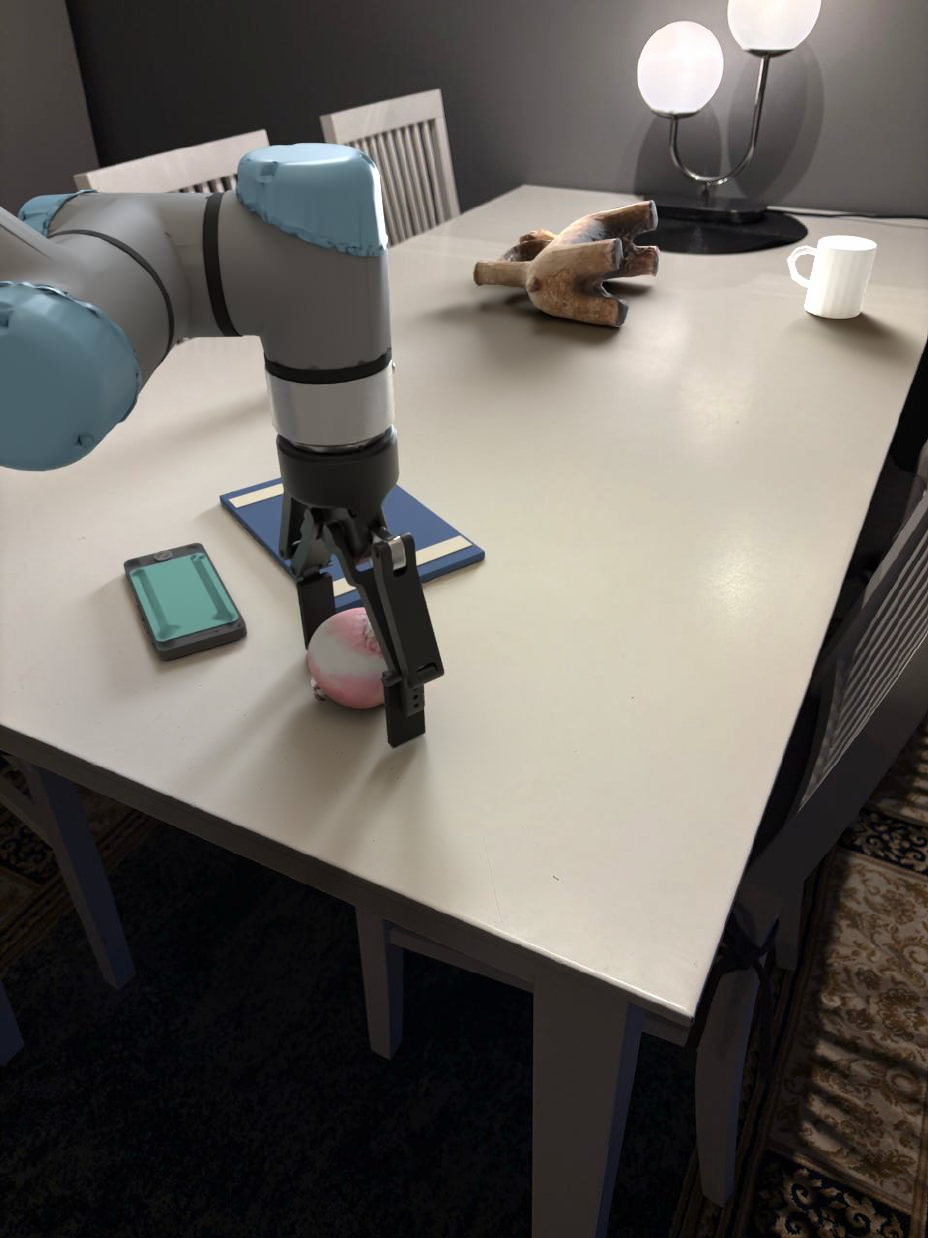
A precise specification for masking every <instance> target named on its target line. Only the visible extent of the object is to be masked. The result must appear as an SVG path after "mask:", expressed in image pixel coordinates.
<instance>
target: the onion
mask: <svg viewBox="0 0 928 1238" xmlns="http://www.w3.org/2000/svg"><path fill="white" fill-rule="evenodd" d="M306 652H307V653H306V660H307V663H308V669H309V671H310V673H311V676H312V677H310V683H311V686H312V688H313V691H314V692H313V695H314V698H315V700H316V702H317V703H318V704H323V703H325V701H328V699H327V698H329V699H331V700H332V701H333V702H335V703H336V704H339V705H341V706H342V707H343V706H344V707H349V708H352V709H360V710H364V709H371V708H372V709H373V708H374V707H376V706H379V705H385V702H384V690H383V683H382V681H381V678H383V677H382V672H384V671H387V670H388V668H387V665H386V662H385V660H384V657H383V655H382V652H381V649H380V647H379V644H378V642H377V639H376V637H375V634H374V631H373V629H372V626H371V624H370V621H369V618H368V616H367V613H366V611H365V608H364V607H358V608H354V609H350V610H346V611H344V612H341V613H338V614H336V615H334V616H332V617H331V618H329V619H328V620H326V621H325V622H323V623H322V624H321V625H320V626H319V627H318V629H317V630H316V631H315V633H314V635H313V636H312V639H311V641H310V643H309V646H308V650H306ZM318 690H320V691H322V692H323V693H324V694H325V696H327V698H325V697H324V696H322V695H320V694H319V693H318Z"/></svg>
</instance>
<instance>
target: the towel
mask: <svg viewBox="0 0 928 1238" xmlns="http://www.w3.org/2000/svg"><path fill="white" fill-rule="evenodd" d="M283 493H284V489H283V485H282V480H281V476H280V477H276V478H273V479H271V480H267V481H264V482H260V483H257V484H254V485H250V486H247V487H244V488H240V489H237V490H233V491H231V492H227V493H223V494H220V495H219V502H220V504H222V505H223V507H224V508H226V509H227V510H228V512H229V513H230V514H231V515H232V516H233V517H234V518H235V519H236V520H237V521H238V522H239V524H241V525H242V526H243V528H245V529H246V530H247V532H249V534H250V535H251V536H252V537H253V538H254V539H255V540H256V541H257V542H258V543H259V544H260V545H261V546H262V547H263V548H264V549H265V550H266V551H267V552H268V553H269V555H270V556H271V557H272V558H273V559H274V560H275V561H276V562H277V563H278V564H279V565H280V567H282V568H283V569H284V570H285V571H286V572H287V573H288V575H290V576H291V577H292V578H293V579H294V580H295V582H298V579H295V578H294V577H293V575H292V574H291V572H290V563H291V561H290V560H286V561H283V560H282V559H281V557H280V556H279V551H278V545H279V535H280V524H281V514H282V503H283ZM382 507H383V511H384V515H385V519H386V522H387V525H388V531H389V532H391V533H392V534H394V535H395V536H397V535H399V534H402V533H405V532H409V533H410V534H411V535H412V537H413V539H414V542H415V551H416V562H417V570H418V574H419V577H420V581H421V584H422V583H426V582H428V581H430V580H433V579H435V578H438V577H440V576H443V575H445V574H448V573H451V572H453V571H456V570H459V569H461V568H464V567H467V566H469V565H472V564H474V563H477V562H480V561H482V560H485V559H486V551H485V550H484V549H482V548H481V547H480V546H479V545H477V544H475V542H474V541H472V540H471V539H469V538H468V537H467V536H465V535H464V534H463V533H461V532H460V531H459V530H457V529H456V528H455V527H453V526H452V525H451V524H450V523H448V522H447V521H446V520H444V519H443V518H442V517H440V515H438V514H436V513H435V512H434V511H433V510H431V509H430V508H428V506H426V505H424V503H422V502H420V501H419V500H418V499H417V498H415V497H414V496H413V495H411V494H410V493H409V492H408V491H406V490H405V489H404V488H402V487H401V486H399V485H398V484H397V483H396V485H395V487H394V488H393V489H392V490H391V491H390V493H389V494H388V495H387V497H386V498H385V500H384V501H383V504H382ZM330 559H331V561H332V562H331V564H333V566H330V567H327V568H325V569H322V570H320V574H321V573H324V572H326V571H328V572H329V573H330V574H331V575H332V580H333V589H334V597H335V606H336V614H338V613H341V612H344V611H346V610H350V609H354V608H362V607H364V606H363V603H362V600H361V598H360V595H359V593H358V590H357V588H355V587H352V586H350V585H348V583H347V582H346V579H345V576H344V574H343V571H342V569H341V566H340V563H339V561H338V558H337V557H336V556H335V555H333V554H332V556H331V558H330ZM372 567H373V566H371V564H370V562H367V563H365V564H362V565H359V566H356V569H357V570H358V571H364V570H367V569H370V568H372Z"/></svg>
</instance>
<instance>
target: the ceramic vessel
mask: <svg viewBox="0 0 928 1238" xmlns="http://www.w3.org/2000/svg"><path fill="white" fill-rule="evenodd" d="M657 212H658V211H657V206H656V203H655V201H654V200H652V199H650V200H647V201H642V202H638V203H635V204H634V203H633V204H629V205H625V206H622V207H618V208H617V207H616V208H613V209H612V208H611V209H608V210H603V211H598V212H593V213H589V214H587V215H585V216H582V217H580V218H577V220H575V221H574V222H572V223H571V224H570V225H568V226H567V227H565V228H564V229H563V230H562V231H561V232H560V233H559V234H555V233H552V232H551V231H550V230H548V229H545V228H543V229H538V230H537V231H536V230H533V231H529V232H528V233H526V234H523V235H521V236H520V237H519V240H518V243H517V244H515V245H514V246H511V247H510V248H508V249H507V250H505V251H504V252H503V253H502V254H501V256H500V257H499V258H498V259H497V260H478V261H476V263H475V264H474V266H473V269H472V279H473V282H474V284H476V287H481V286H499V287H500V286H501V287H507V288H523V289H525V290H526V291H527V294H528V298H529V300H530V301H531V303H532V304H533V305H534V307H535V308H536V309H538V310H540V311H542V312H543V313H545V314H547V315H549V316H551V317H552V316H553V317H556V318H564V319H570V320H576V321H579V322H583V323H586V324H593V325H600V326H612V327H617V328H619V327H622V326H623V325H624V324H625V322H626V319H627V317H628V312H629V308H630V307H629V304H628V301H626V300H625V299H624V298H623V299H621V298H618V297H616V296H614V295H613V294H611V293H609V292H607V290H606V289H605V288H604V286H602V285H603V282H604V281H608V280H612V279H613V280H614V279H621V278H635V277H641V276H651V277H656V276H657V274H658V272H659V268H660V261H661V251H660V249H659V247H658V246H657V245H654V246H653V245H647V246H646V245H645V246H643V245H642V246H641V245H640V246H639V245H636V244H635V243H634V242H633V241H634V238H637V236H639V235H641V234H642V233H643V234H644V233H648V232H651V231H656V229H657V226H658V221H659V217H658V213H657Z"/></svg>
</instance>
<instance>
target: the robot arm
mask: <svg viewBox="0 0 928 1238" xmlns="http://www.w3.org/2000/svg"><path fill="white" fill-rule="evenodd" d="M236 169H237V170H236V173H237V182H236V184H235V187H234V188H235V189H228V190H226V191H225V192H224V191H223V192H222V191H219V192H216V191H215V192H106V191H98V189H80V190H78V191H76V192H75V193H64V194H63V193H62V194H45V195H39V196H35V197H33V198H31V199H29V200H28V201H27V202H25V203H24V205H23V206H22V207H21V208H20V210H19V212H18V215H17V216H15V215H14V214H13V213H11V212H10V211H8V210H7V209H5V208H3V206H0V467H3V468H5V469H9V470H10V469H11V470H16V471H22V472H47V471H48V472H49V471H55V470H59V469H62V468H66V467H69V466H71V465H74V464H75V463H78V462H79V461H81V460H82V459H84V458H85V457H87V456H88V455H90V453H92V452H93V451H94V450H95V448H96V447H98V445H100V443H102V441H103V440H104V439H105V438H106V437H107V436H108V434H110V433H111V432H112V430H114V429H115V427H116V426H117V425H118V424H121V423H123V422H125V421H126V420H127V419H128V417H129V416H130V414H131V413H132V412H133V410H134V409H135V407H136V405H137V403H138V399H139V395H140V393H141V392H142V390H143V389H144V387H145V386H146V384H147V382H148V381H149V380H150V378H151V377H152V375H153V374H154V372H155V371H156V370H157V369H158V367H159V366H160V365H161V364H162V363H163V362H164V361H165V359H166V358H167V357H168V355H169V354H170V352H171V351H172V350H173V348H174V346H176V344H177V343H178V341H179V340H180V339H185V338H187V339H188V338H189V339H190V338H193V339H195V338H243V337H245V336H247V337H249V336H254V337H259V339H260V343H261V346H262V351H263V353H262V354H263V359H264V360H263V362H264V364H263V368H264V377H265V383H266V389H267V391H266V392H267V397H268V406H269V411H270V419H271V425H272V427H273V429H274V430H275V432H276V433H277V434H276V438H275V445H276V451H277V459H278V465H279V472H280V473H279V474H280V477H281V480H282V485H283V489H284V493H283V503H282V514H281V524H280V535H279V545H278V551H279V556H280V557H281V559H282V560H283V561H286V560H290V561H291V563H290V572H291V574H292V575H293V577H294V578H295V579H298V582H297V581H295V587H296V592H297V600H298V601H297V602H298V608H299V614H300V621H301V629H302V635H303V639H304V640H303V642H304V648H305V651H307V650H308V646H309V643H310V641H311V639H312V636H313V635H314V633H315V631H316V630H317V629H318V627H319V626H320V625H321V624H322V623H323V622H325V621H326V620H328V619H329V618H331V617H332V616H334V615H336V606H335V597H334V589H333V580H332V575H331V574H330V573H329V572H328V571H326V572H324V573H321V574H320V570H322V569H325V568H327V567H330V566H333V564H331V562H332V561H331V559H330V558H331V556H332V554H333V555H335V556H336V557H337V558H338V561H339V563H340V566H341V569H342V571H343V574H344V576H345V579H346V582H347V583H348V585H350V586H352V587H355V588H357V590H358V593H359V595H360V598H361V600H362V603H363V606H362V607H363V608H365V611H366V613H367V616H368V618H369V621H370V624H371V626H372V629H373V631H374V634H375V637H376V639H377V642H378V644H379V647H380V649H381V652H382V655H383V657H384V660H385V662H386V665H387V668H388V670H387V671H384V672H382V677H383V678H381V681H382V683H383V690H384V702H385V704H384V712H385V724H386V736H387V743H388V745H390V747H391V748H392V749H395V748H397V747H400V746H401V745H403V744H406V743H408V742H410V741H412V740H414V739H416V738H418V737H421V736H422V735H424V734H426V715H425V706H426V700H425V698H426V697H425V685H426V684H427V683H430V682H432V681H434V680H436V679H439V678H442V677H443V676H444V675H445V668H444V663H443V660H442V657H441V653H440V649H439V646H438V645H439V644H438V641H437V637H436V635H435V630H434V627H433V623H432V618H431V616H430V612H429V608H428V604H427V601H426V596H425V593H424V589H423V584H422V583H421V581H420V577H419V574H418V570H417V562H416V551H415V542H414V539H413V537H412V535H411V534H410V533H409V532H405V533H402V534H399V535H397V536H395V535H394V534H392V533H391V532H389V531H388V525H387V522H386V519H385V515H384V511H383V507H382V504H383V501H384V500H385V498H386V497H387V495H388V494H389V493H390V491H391V490H392V489H393V488H394V487H395V485H396V484H397V483H398V481H399V478H400V462H399V460H400V459H399V444H398V431H397V428H396V426H395V424H394V422H395V420H396V408H395V407H396V406H395V389H394V374H395V372H396V364H395V363H394V362H393V360H392V358H393V347H392V325H391V301H390V300H391V297H390V275H389V249H388V245H389V243H388V241H389V240H388V234H386V225H385V216H384V206H383V197H382V187H381V178H380V174H379V171H378V168H377V165H376V164H375V162H374V161H373V160H372V159H371V158H370V156H369V155H367V154H366V153H365V152H363V151H362V150H360V149H358V148H355V147H352V146H348V145H342V144H336V143H325V142H324V143H323V142H322V143H321V142H300V143H294V144H287V145H284V144H283V145H282V144H278V145H277V144H276V145H275V144H274V145H270V146H264V147H259V148H256V149H253V150H251V151H249V152H246V153H245V154H244V155H243V156H242V157H241V158H240V159H239V161H238V164H237V168H236ZM367 562H370V564H371V566H373V567H372V568H370V569H367V570H364V571H358V570H357V569H356V566H359V565H362V564H365V563H367ZM293 577H292V578H293ZM294 578H293V579H294ZM295 579H294V580H295Z"/></svg>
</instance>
